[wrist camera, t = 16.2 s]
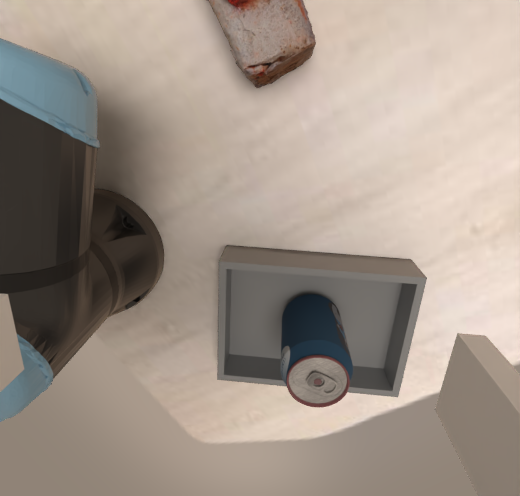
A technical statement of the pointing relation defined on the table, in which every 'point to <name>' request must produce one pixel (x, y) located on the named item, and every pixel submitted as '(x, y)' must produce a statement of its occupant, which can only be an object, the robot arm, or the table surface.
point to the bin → (327, 285)
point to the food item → (266, 36)
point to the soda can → (314, 351)
